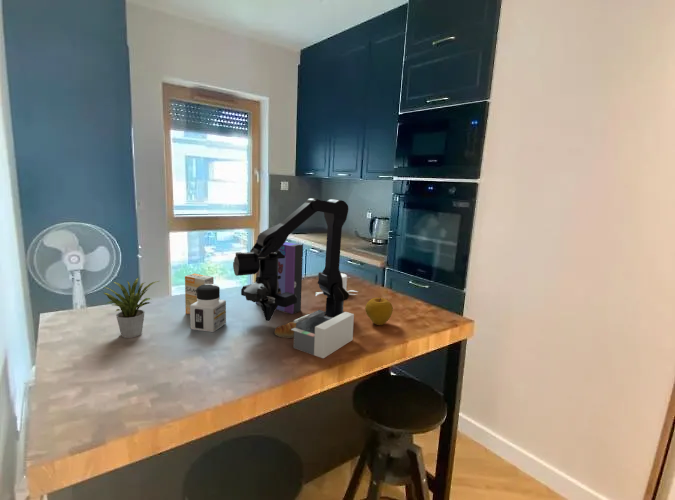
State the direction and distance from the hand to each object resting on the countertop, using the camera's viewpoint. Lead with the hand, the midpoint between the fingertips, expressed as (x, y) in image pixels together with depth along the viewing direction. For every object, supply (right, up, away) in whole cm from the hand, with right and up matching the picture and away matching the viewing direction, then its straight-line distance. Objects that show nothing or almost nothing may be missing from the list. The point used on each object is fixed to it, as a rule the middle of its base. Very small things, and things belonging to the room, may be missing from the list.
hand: (268, 320), depth 118 cm
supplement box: (-24, +1, +7) cm, 25 cm away
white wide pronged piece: (+21, +4, +39) cm, 44 cm away
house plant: (-37, -2, -9) cm, 38 cm away
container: (-18, -1, -3) cm, 18 cm away
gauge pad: (+13, -4, -9) cm, 17 cm away
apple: (+35, -2, +6) cm, 36 cm away
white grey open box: (+17, -4, -10) cm, 20 cm away
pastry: (+8, -3, -5) cm, 10 cm away
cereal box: (0, +1, +18) cm, 18 cm away
